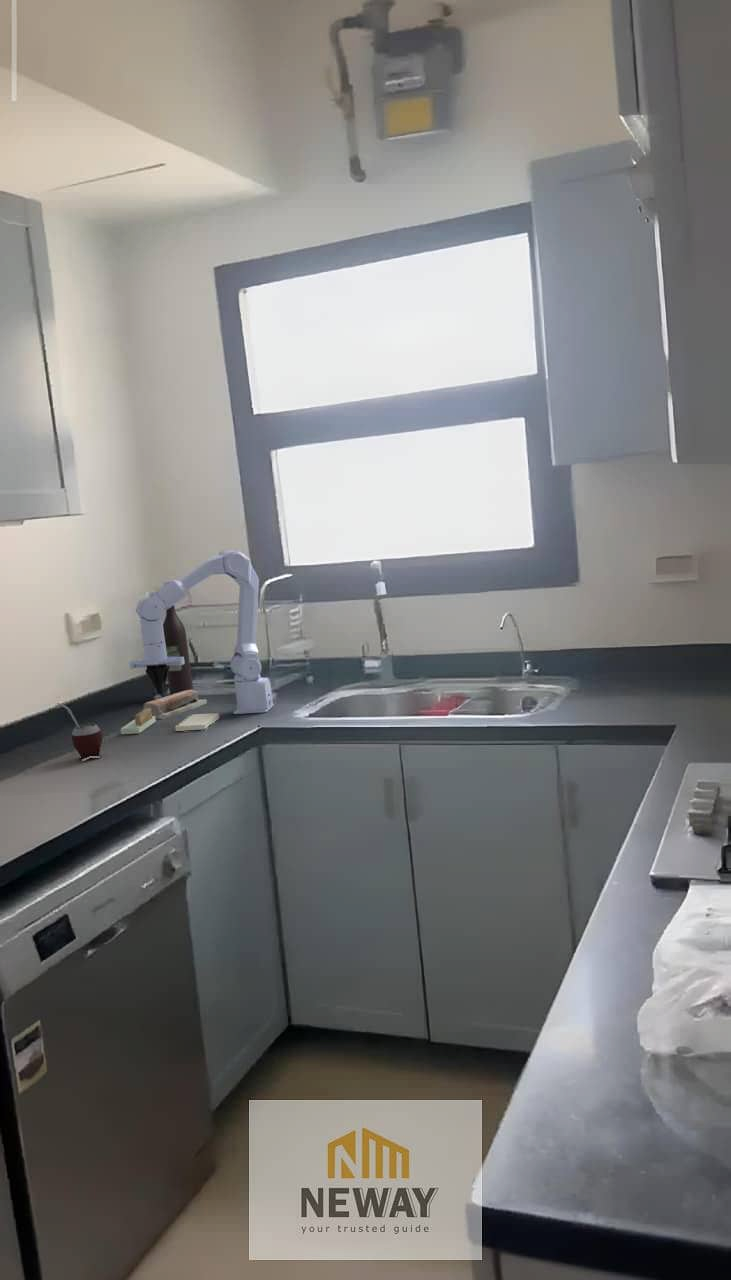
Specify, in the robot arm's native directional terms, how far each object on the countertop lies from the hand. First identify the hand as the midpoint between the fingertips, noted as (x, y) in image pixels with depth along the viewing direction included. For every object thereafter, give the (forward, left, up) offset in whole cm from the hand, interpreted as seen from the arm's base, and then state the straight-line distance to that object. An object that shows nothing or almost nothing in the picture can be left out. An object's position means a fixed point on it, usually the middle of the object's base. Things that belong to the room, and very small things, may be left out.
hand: (161, 693), depth 281 cm
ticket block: (-9, 0, -9) cm, 13 cm away
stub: (+8, 0, -9) cm, 12 cm away
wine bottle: (+8, -36, -10) cm, 38 cm away
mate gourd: (+10, +27, -10) cm, 30 cm away
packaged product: (+5, -19, -10) cm, 22 cm away
